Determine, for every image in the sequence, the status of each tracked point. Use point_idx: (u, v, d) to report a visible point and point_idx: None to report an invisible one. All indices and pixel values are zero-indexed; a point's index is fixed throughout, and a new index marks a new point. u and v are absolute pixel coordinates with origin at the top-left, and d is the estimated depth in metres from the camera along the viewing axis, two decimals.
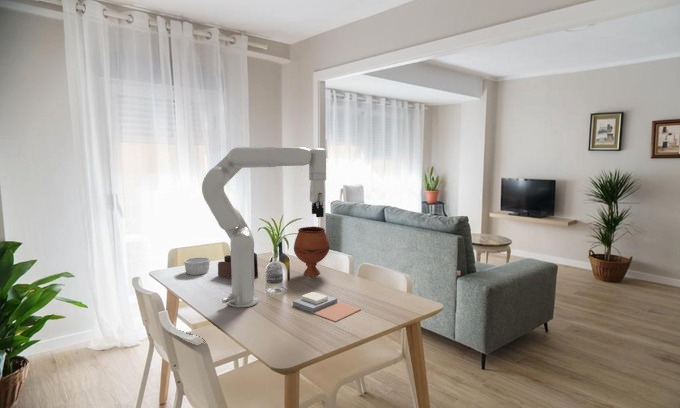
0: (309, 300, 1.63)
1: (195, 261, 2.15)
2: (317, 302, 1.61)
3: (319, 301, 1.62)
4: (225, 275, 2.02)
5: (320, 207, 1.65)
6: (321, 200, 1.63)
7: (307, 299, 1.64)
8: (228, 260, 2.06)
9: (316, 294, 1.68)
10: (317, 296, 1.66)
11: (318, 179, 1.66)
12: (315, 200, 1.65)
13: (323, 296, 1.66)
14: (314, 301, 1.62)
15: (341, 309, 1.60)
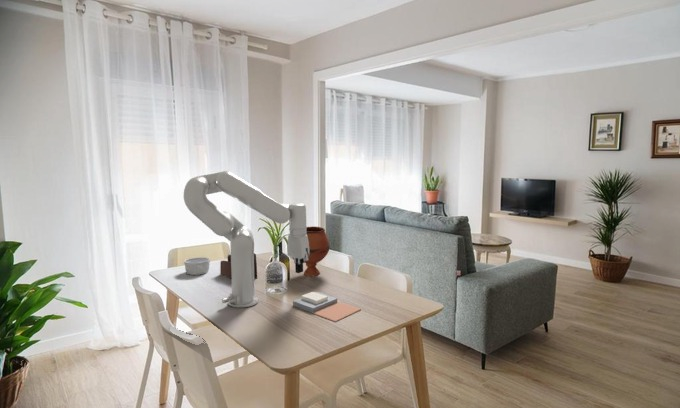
0: (309, 300, 1.63)
1: (195, 261, 2.15)
2: (317, 302, 1.61)
3: (319, 301, 1.62)
4: (226, 274, 2.03)
5: None
6: (306, 260, 1.68)
7: (307, 299, 1.64)
8: (230, 259, 2.08)
9: (316, 294, 1.68)
10: (317, 296, 1.66)
11: (303, 234, 1.67)
12: (303, 256, 1.67)
13: (323, 296, 1.66)
14: (314, 301, 1.62)
15: (341, 309, 1.60)
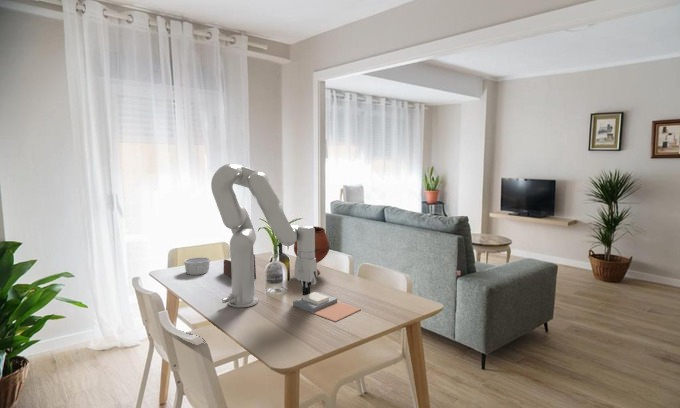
0: (310, 301, 1.63)
1: (195, 261, 2.15)
2: (318, 303, 1.61)
3: (320, 302, 1.62)
4: (227, 273, 2.05)
5: None
6: None
7: (308, 299, 1.64)
8: None
9: (317, 294, 1.68)
10: (319, 297, 1.65)
11: (311, 257, 1.65)
12: (311, 279, 1.64)
13: (324, 297, 1.65)
14: (315, 302, 1.61)
15: (341, 309, 1.60)
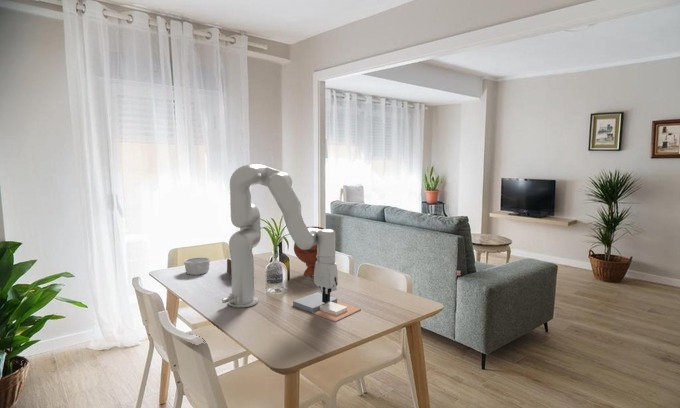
0: (328, 311, 1.56)
1: (195, 261, 2.15)
2: (337, 313, 1.54)
3: (339, 312, 1.55)
4: (229, 272, 2.07)
5: None
6: (334, 290, 1.58)
7: (326, 310, 1.57)
8: None
9: (335, 304, 1.61)
10: (337, 307, 1.58)
11: (332, 263, 1.57)
12: (332, 285, 1.56)
13: (343, 307, 1.58)
14: (334, 312, 1.54)
15: None
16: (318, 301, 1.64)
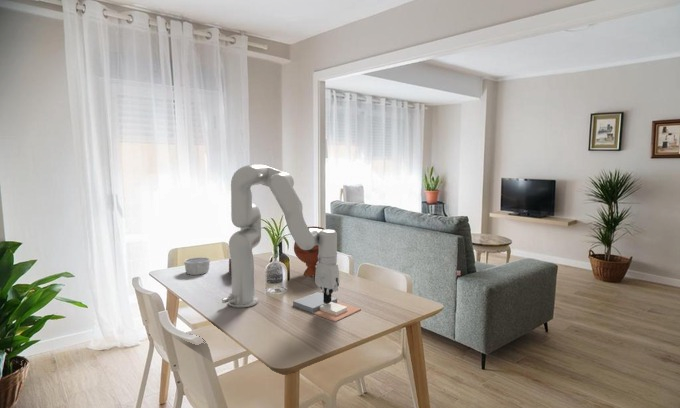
0: (328, 311, 1.56)
1: (195, 261, 2.15)
2: (337, 313, 1.54)
3: (339, 312, 1.55)
4: (230, 272, 2.07)
5: None
6: None
7: (326, 310, 1.57)
8: None
9: (335, 304, 1.61)
10: (337, 307, 1.58)
11: (333, 263, 1.57)
12: (333, 286, 1.56)
13: (343, 307, 1.58)
14: (334, 312, 1.54)
15: None
16: (318, 301, 1.64)
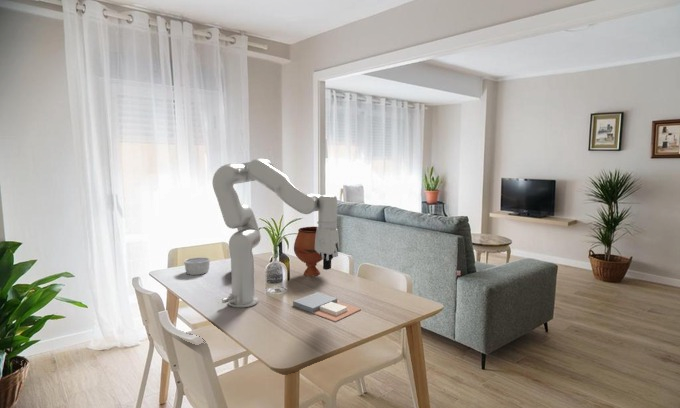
0: (328, 311, 1.56)
1: (195, 261, 2.15)
2: (337, 313, 1.54)
3: (339, 312, 1.55)
4: None
5: None
6: (335, 256, 1.56)
7: (326, 310, 1.57)
8: None
9: (335, 304, 1.61)
10: (337, 307, 1.58)
11: (333, 228, 1.55)
12: (333, 251, 1.54)
13: (343, 307, 1.58)
14: (334, 312, 1.54)
15: None
16: (318, 301, 1.64)
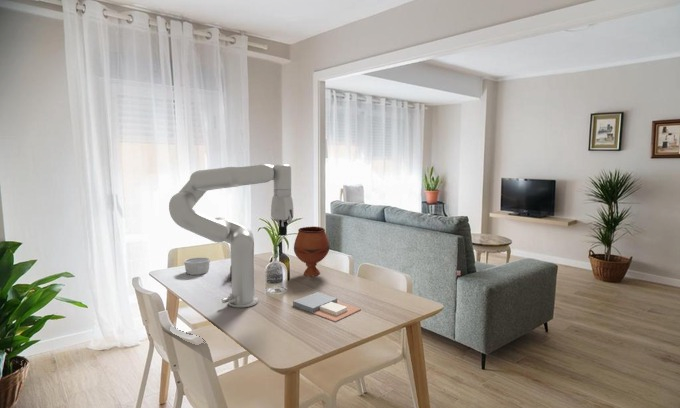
0: (328, 311, 1.56)
1: (195, 261, 2.15)
2: (337, 313, 1.54)
3: (339, 312, 1.55)
4: None
5: (285, 226, 1.67)
6: (290, 222, 1.64)
7: (326, 310, 1.57)
8: None
9: (335, 304, 1.61)
10: (337, 307, 1.58)
11: (287, 196, 1.63)
12: (287, 217, 1.63)
13: (343, 307, 1.58)
14: (334, 312, 1.54)
15: None
16: (318, 301, 1.64)
